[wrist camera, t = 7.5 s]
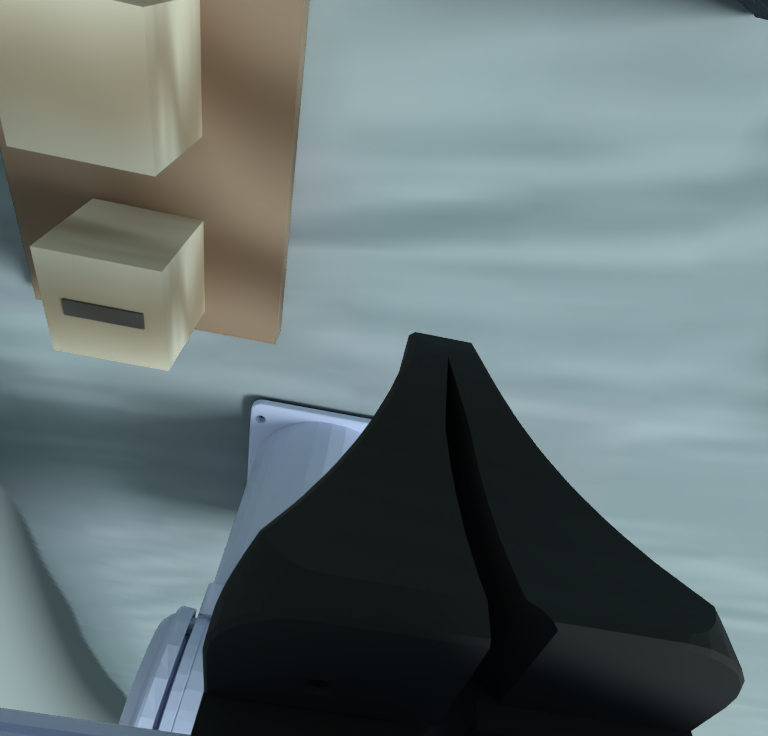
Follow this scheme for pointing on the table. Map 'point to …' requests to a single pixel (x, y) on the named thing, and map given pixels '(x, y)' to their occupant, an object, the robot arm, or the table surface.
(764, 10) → the box
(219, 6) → the walnut board
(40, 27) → the plain block
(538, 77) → the table surface
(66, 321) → the block one
